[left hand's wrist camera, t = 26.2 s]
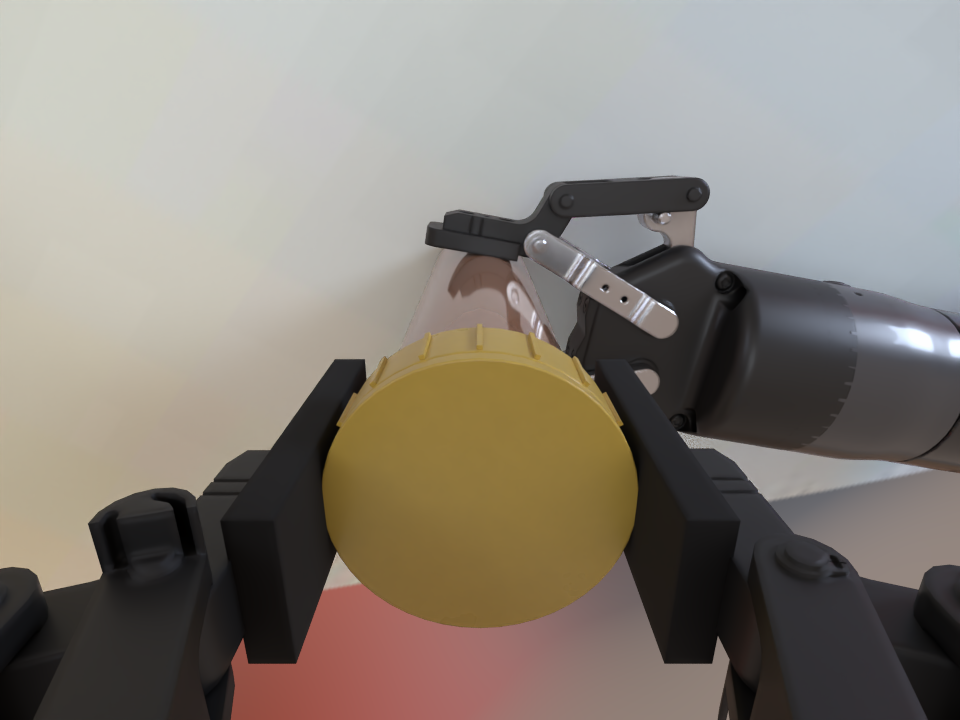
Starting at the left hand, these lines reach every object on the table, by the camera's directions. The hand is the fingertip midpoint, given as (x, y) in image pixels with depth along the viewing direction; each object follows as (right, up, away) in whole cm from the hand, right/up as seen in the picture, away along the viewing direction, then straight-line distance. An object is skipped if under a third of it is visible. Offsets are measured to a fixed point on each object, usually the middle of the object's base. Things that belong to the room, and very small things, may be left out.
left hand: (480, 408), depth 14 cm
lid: (0, -1, -4) cm, 4 cm away
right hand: (-3, +4, +9) cm, 10 cm away
